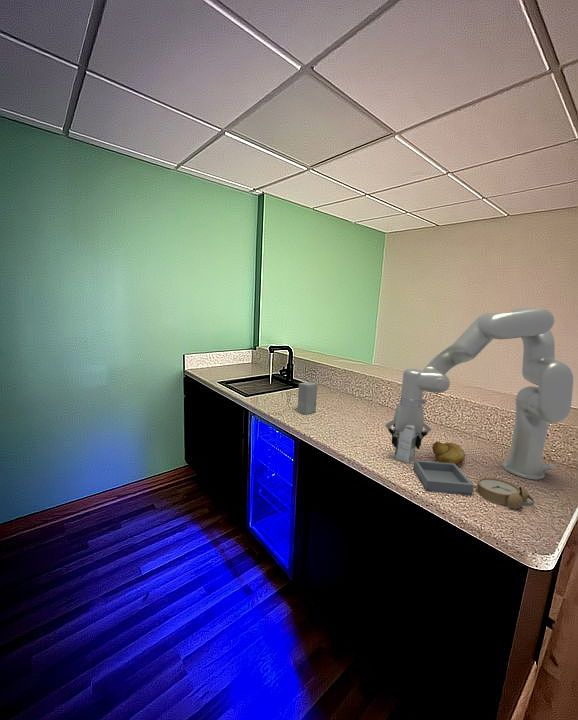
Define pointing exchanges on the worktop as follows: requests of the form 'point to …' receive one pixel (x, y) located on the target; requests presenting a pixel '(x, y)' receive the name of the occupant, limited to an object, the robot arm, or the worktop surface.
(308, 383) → the skincare box
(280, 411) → the worktop surface
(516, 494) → the alarm clock
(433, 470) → the tray
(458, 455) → the bread roll
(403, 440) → the syrup box
